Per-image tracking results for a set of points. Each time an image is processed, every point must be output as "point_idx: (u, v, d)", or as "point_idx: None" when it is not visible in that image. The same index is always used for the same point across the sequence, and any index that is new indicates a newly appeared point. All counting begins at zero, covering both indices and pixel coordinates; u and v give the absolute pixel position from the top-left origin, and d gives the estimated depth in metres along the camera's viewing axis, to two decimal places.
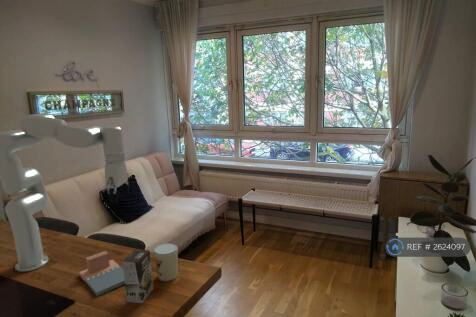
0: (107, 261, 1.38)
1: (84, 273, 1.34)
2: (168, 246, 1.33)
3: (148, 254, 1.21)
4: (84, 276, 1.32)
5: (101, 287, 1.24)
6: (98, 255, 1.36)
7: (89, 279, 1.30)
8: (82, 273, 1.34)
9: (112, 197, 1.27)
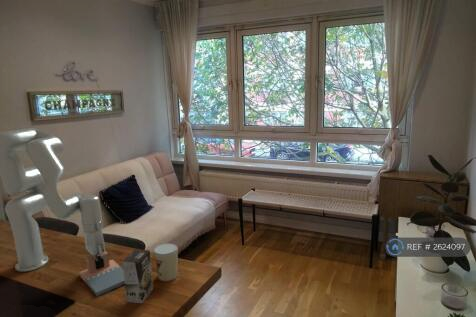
0: (107, 261, 1.38)
1: (84, 273, 1.34)
2: (168, 246, 1.33)
3: (148, 254, 1.21)
4: (84, 276, 1.32)
5: (101, 287, 1.24)
6: (98, 255, 1.36)
7: (89, 279, 1.30)
8: (82, 273, 1.34)
9: (100, 263, 1.35)
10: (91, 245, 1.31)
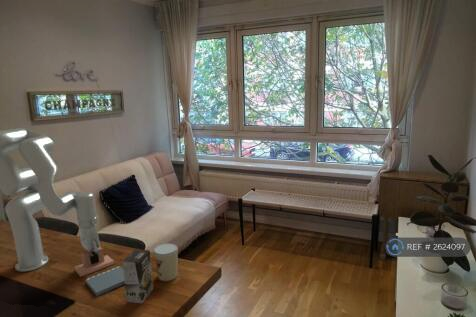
0: (102, 256, 1.42)
1: (79, 268, 1.38)
2: (168, 246, 1.33)
3: (148, 254, 1.21)
4: (79, 270, 1.36)
5: (101, 287, 1.24)
6: (93, 250, 1.40)
7: (89, 279, 1.30)
8: (77, 268, 1.38)
9: (95, 258, 1.39)
10: (86, 240, 1.35)
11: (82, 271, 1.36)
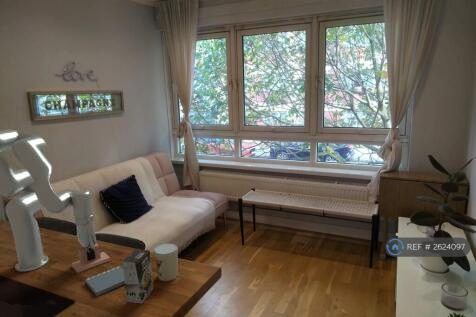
0: (98, 253, 1.45)
1: (76, 264, 1.41)
2: (168, 246, 1.33)
3: (148, 254, 1.21)
4: (76, 267, 1.39)
5: (101, 287, 1.24)
6: None
7: (89, 279, 1.30)
8: (74, 264, 1.41)
9: (92, 254, 1.42)
10: (83, 237, 1.38)
11: (79, 267, 1.39)
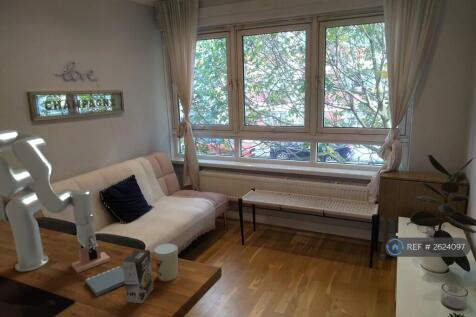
0: (98, 253, 1.45)
1: (76, 264, 1.41)
2: (168, 246, 1.33)
3: (148, 254, 1.21)
4: (76, 267, 1.39)
5: (101, 287, 1.24)
6: (90, 247, 1.43)
7: (89, 279, 1.30)
8: (74, 264, 1.41)
9: (94, 254, 1.40)
10: (82, 237, 1.38)
11: (79, 267, 1.39)
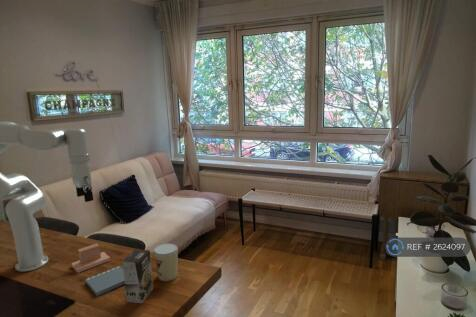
0: (98, 253, 1.45)
1: (76, 264, 1.41)
2: (168, 246, 1.33)
3: (148, 254, 1.21)
4: (76, 267, 1.39)
5: (101, 287, 1.24)
6: (90, 247, 1.43)
7: (89, 279, 1.30)
8: (74, 264, 1.41)
9: (89, 195, 1.34)
10: (77, 177, 1.32)
11: (79, 267, 1.39)
